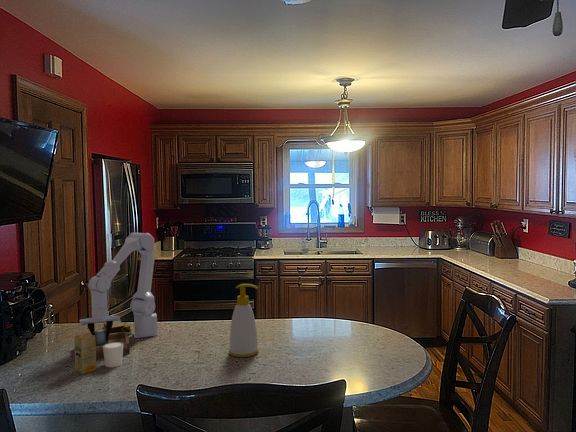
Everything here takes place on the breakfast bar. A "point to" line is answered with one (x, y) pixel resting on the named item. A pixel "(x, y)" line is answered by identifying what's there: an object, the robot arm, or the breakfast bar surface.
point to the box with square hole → (115, 337)
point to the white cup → (113, 354)
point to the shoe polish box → (85, 353)
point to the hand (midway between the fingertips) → (100, 341)
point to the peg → (100, 337)
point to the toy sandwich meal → (119, 327)
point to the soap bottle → (243, 327)
